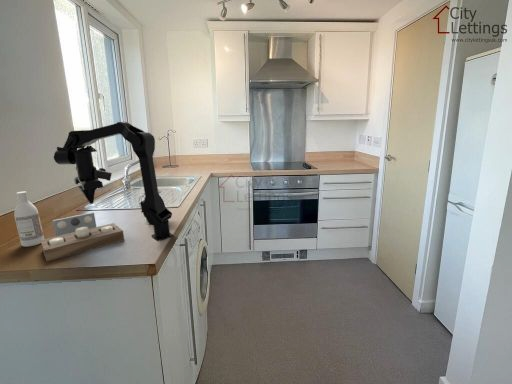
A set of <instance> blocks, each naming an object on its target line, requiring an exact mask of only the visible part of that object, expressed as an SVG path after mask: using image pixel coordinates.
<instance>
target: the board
mask: <svg viewBox="0 0 512 384" xmlns="http://www.w3.org/2000/svg"><path fill="white" fill-rule="evenodd" d="M106 226H112V227H113V230H111V231H107V232H103V233H101V228H103V227H106ZM89 234H90V236H86V237H82V238H78V239H77V236H76V232H73V233H69V234H64V235H60V236H56V235H55V236H53V237H52V236H51V237H48V238H44V239H43V240H41V243H40V244H41V248H42V253H43V255H44V258H45V261H46V262H47V261H48V262H52V261H54V260H58V259H61V258H65V257H69V256H73V255H76V254H80V253H84V252H87V251H91V250H95V249H98V248H102V247H105V246H109V245H113V244H117V243H119V242H124V241H125V236H124V235H125V234H124V230H123V229H122V228H120V227H119V226H118V225H117V224H115V223H113V222H112V223H109V224H104V225H100V226H96V227H95V228H90V229H89ZM54 238H63V240H64V242H62V243H58V244H54V245H50V243H49V241H50V240H51V239H54Z"/></svg>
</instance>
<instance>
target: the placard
mask: <svg viewBox="0 0 512 384" xmlns="http://www.w3.org/2000/svg"><path fill="white" fill-rule="evenodd" d="M52 225H53V229H54V234H55V237H56V236H60V235H64V234H69V233H73V232H76V231H75V230H76V229H77V228H80V227H88V229H90V228H95V227H97V222H96V216H95V212H94V211H92V212H88V213H83V214H82V213H81V214H78V215H77V214H76V215H72V216H67V217H62V218H59V219H53V220H52Z"/></svg>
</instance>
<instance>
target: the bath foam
mask: <svg viewBox="0 0 512 384" xmlns="http://www.w3.org/2000/svg"><path fill="white" fill-rule="evenodd" d="M16 197H17V202H18V203H17V204H16V206H15V209H14V211H13V212H14V213H13V214H14V220H15V224H16V228H17V233H18V236H19V240H20V245H21V246H22V247H26V248H27V247H34V246H37V245H40V244H41V240H43V239H45V236H44V232H43V228H42V222H41V218H40V213H39V210H38V208H37V207H36V206H35V205H34V204H33V203H32V202H31V201H30V200H29V197H28V191H17V192H16Z"/></svg>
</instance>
